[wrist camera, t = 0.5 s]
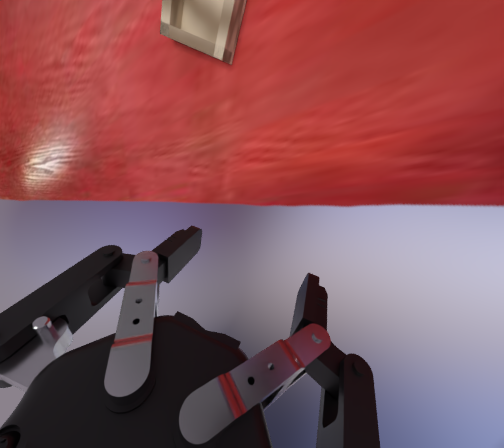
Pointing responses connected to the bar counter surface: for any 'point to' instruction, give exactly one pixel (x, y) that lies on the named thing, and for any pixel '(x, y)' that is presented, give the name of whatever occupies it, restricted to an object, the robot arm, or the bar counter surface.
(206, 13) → the rest
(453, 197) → the bar counter surface
